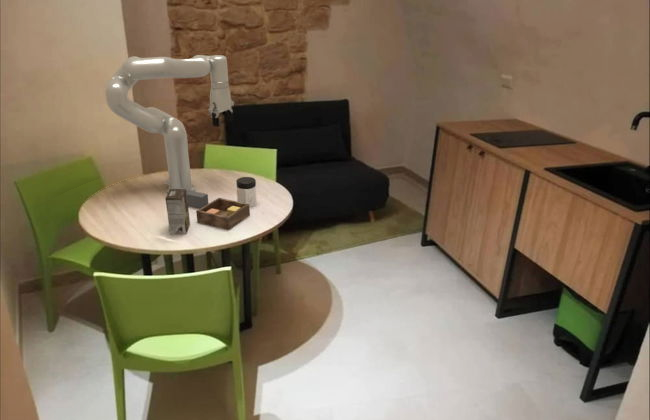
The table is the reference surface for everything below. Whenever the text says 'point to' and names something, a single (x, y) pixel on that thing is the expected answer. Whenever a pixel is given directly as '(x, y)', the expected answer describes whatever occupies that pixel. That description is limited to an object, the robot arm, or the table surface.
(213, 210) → the terracotta block
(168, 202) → the coffee box
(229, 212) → the mustard block
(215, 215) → the box
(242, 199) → the jar
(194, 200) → the lid
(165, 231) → the table surface
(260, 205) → the table surface
